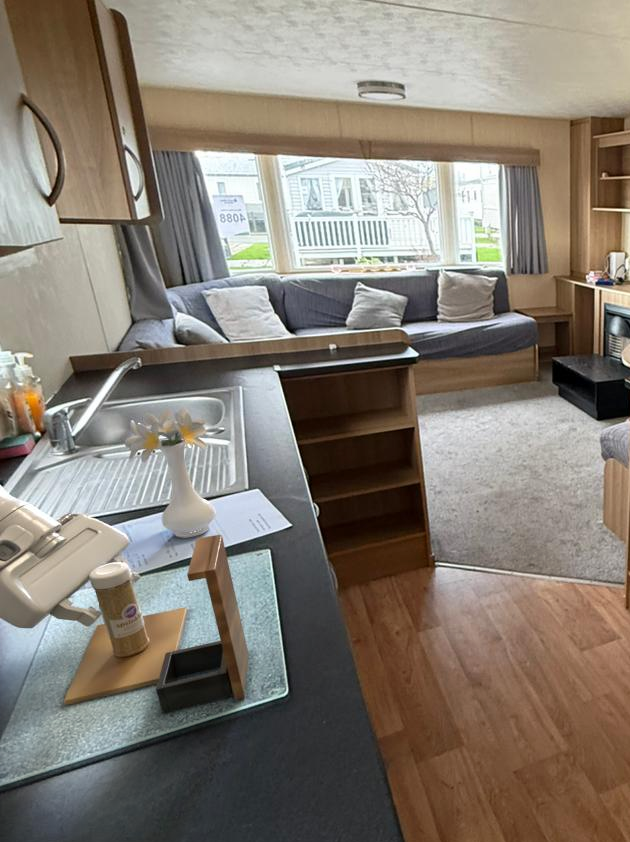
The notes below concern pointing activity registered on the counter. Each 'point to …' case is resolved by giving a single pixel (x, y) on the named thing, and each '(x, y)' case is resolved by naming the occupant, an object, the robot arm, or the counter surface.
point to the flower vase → (175, 468)
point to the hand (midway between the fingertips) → (116, 600)
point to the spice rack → (210, 656)
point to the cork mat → (126, 659)
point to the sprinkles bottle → (119, 608)
